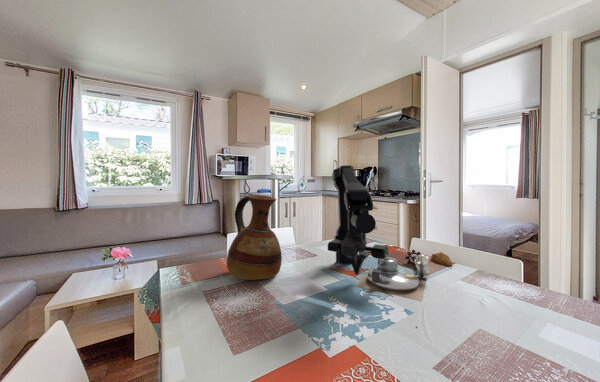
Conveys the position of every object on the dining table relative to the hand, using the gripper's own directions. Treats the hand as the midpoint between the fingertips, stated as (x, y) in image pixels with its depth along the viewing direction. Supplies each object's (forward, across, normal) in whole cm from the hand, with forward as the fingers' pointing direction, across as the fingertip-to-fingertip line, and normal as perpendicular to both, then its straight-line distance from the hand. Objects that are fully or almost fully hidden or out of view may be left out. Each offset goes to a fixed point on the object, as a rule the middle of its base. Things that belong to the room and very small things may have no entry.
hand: (357, 274), depth 78 cm
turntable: (+3, +10, +6) cm, 12 cm away
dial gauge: (+3, +18, +14) cm, 23 cm away
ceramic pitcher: (+4, -35, -10) cm, 37 cm away
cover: (+1, +7, +11) cm, 13 cm away
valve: (+4, +16, +24) cm, 29 cm away
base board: (+4, +10, +6) cm, 12 cm away
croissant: (+4, +23, +38) cm, 44 cm away
